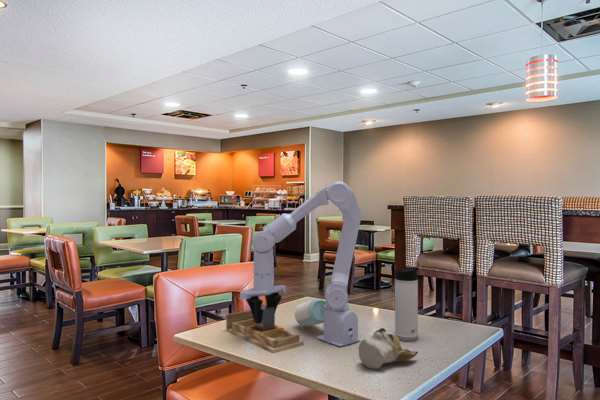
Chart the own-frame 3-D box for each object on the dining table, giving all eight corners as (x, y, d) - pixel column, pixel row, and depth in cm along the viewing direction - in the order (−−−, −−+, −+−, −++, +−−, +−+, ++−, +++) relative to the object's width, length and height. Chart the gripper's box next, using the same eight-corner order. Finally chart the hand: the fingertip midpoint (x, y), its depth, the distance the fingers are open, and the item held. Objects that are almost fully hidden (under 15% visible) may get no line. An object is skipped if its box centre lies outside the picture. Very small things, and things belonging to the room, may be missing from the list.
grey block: (274, 328, 122) (274, 307, 122) (262, 331, 119) (262, 309, 119) (266, 325, 125) (266, 304, 125) (254, 327, 122) (254, 306, 122)
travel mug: (419, 342, 118) (419, 269, 118) (395, 341, 119) (395, 268, 119) (418, 335, 124) (418, 266, 124) (394, 334, 126) (394, 265, 126)
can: (304, 298, 136) (321, 292, 126) (318, 316, 136) (336, 311, 126) (289, 313, 133) (305, 308, 122) (303, 331, 132) (321, 328, 122)
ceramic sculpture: (346, 327, 103) (386, 319, 113) (345, 363, 103) (384, 352, 113) (382, 338, 95) (421, 328, 105) (380, 378, 95) (419, 365, 105)
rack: (303, 344, 117) (303, 326, 117) (273, 353, 110) (273, 333, 110) (254, 324, 135) (254, 308, 135) (226, 331, 129) (226, 314, 129)
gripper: (276, 269, 130) (276, 314, 130) (234, 274, 121) (234, 322, 121) (290, 272, 125) (290, 319, 125) (247, 277, 116) (247, 328, 116)
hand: (263, 321), depth 123 cm, fingers closed on grey block, 4 cm apart
